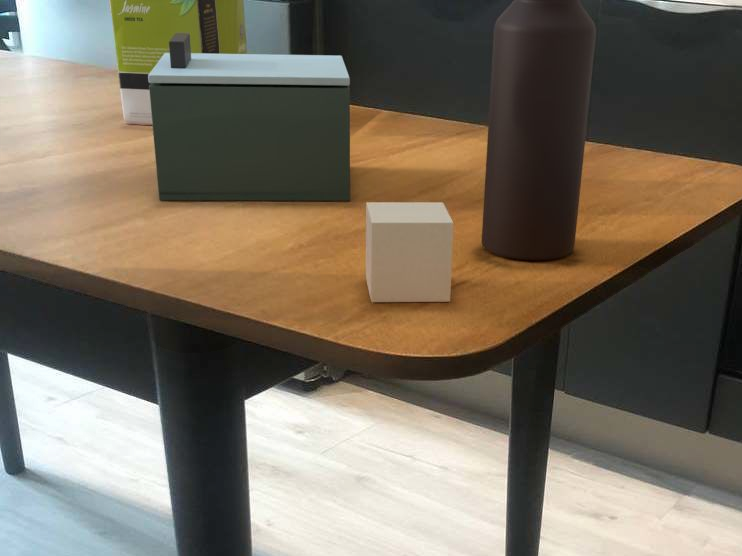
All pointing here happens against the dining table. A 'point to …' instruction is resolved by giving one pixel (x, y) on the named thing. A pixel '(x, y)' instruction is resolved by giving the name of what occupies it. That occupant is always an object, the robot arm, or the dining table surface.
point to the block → (408, 251)
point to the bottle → (537, 128)
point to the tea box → (154, 31)
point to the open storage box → (251, 142)
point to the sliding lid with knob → (245, 67)
